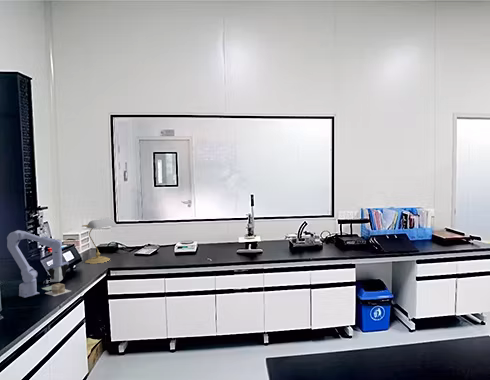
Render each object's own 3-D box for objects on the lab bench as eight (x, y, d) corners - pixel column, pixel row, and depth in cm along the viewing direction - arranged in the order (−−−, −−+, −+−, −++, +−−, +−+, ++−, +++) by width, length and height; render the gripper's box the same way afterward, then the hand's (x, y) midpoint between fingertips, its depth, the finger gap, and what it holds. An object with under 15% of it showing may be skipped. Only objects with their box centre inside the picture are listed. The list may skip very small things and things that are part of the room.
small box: (62, 279, 260) (62, 262, 260) (59, 281, 254) (58, 264, 253) (51, 279, 259) (51, 263, 259) (47, 282, 253) (47, 265, 253)
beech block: (57, 294, 226) (57, 286, 226) (51, 292, 230) (51, 285, 230) (64, 291, 230) (64, 284, 230) (59, 290, 234) (58, 283, 234)
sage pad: (48, 290, 233) (48, 290, 233) (41, 289, 237) (41, 288, 237) (59, 287, 240) (59, 287, 240) (53, 285, 244) (53, 285, 244)
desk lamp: (94, 266, 300) (93, 221, 299) (75, 263, 308) (74, 220, 307) (119, 258, 328) (118, 217, 327) (101, 256, 337) (100, 216, 336)
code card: (54, 296, 222) (54, 296, 222) (44, 293, 228) (44, 293, 228) (71, 291, 232) (71, 291, 232) (61, 288, 238) (61, 288, 238)
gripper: (50, 260, 221) (50, 281, 222) (70, 256, 234) (71, 275, 234) (43, 259, 225) (44, 280, 225) (64, 255, 237) (65, 274, 238)
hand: (58, 277), depth 230 cm, fingers open, 7 cm apart
